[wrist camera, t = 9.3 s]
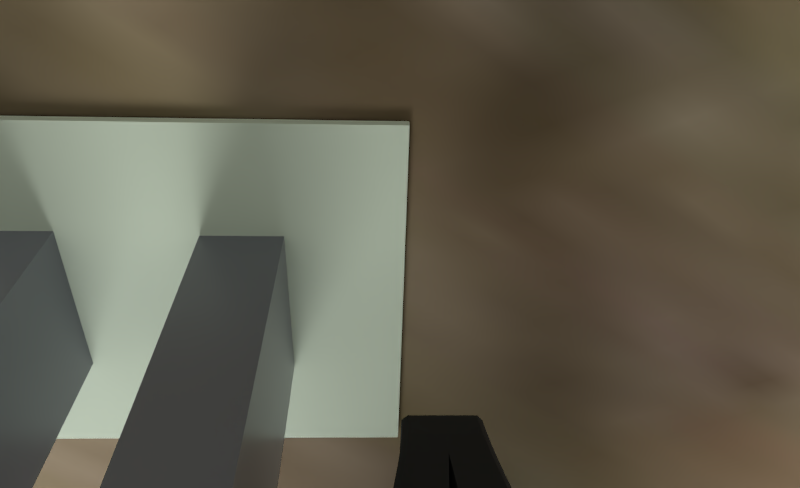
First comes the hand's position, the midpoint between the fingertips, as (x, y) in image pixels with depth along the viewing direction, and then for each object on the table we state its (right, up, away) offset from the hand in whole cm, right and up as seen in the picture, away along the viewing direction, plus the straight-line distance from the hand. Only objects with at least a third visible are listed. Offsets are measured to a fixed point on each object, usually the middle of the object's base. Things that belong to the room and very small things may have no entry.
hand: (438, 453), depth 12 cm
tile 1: (-4, +2, +3) cm, 6 cm away
